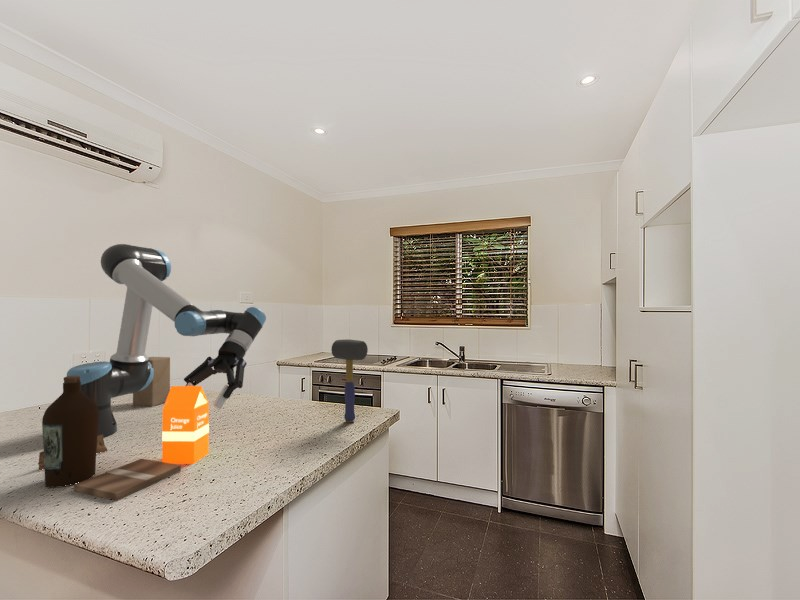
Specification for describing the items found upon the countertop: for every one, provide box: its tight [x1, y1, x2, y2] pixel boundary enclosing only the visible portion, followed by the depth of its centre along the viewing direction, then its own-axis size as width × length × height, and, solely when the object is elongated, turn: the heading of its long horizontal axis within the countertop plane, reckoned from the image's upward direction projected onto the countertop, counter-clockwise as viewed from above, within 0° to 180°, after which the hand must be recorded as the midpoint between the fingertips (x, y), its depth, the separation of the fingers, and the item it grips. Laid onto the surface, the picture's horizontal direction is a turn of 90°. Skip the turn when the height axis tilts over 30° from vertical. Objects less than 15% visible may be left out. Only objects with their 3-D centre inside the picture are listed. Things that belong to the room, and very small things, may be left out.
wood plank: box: [37, 434, 108, 471], centre depth 106 cm, size 15×2×5 cm, turn 157°
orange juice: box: [161, 385, 210, 465], centre depth 107 cm, size 8×9×20 cm
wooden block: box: [132, 356, 171, 408], centre depth 170 cm, size 10×10×20 cm
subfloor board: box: [73, 458, 182, 502], centre depth 93 cm, size 14×16×2 cm
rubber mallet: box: [331, 338, 369, 423], centre depth 141 cm, size 12×8×30 cm, turn 59°
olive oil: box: [41, 376, 99, 488], centre depth 95 cm, size 11×11×25 cm
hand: (197, 406), depth 109 cm, fingers open, 13 cm apart
